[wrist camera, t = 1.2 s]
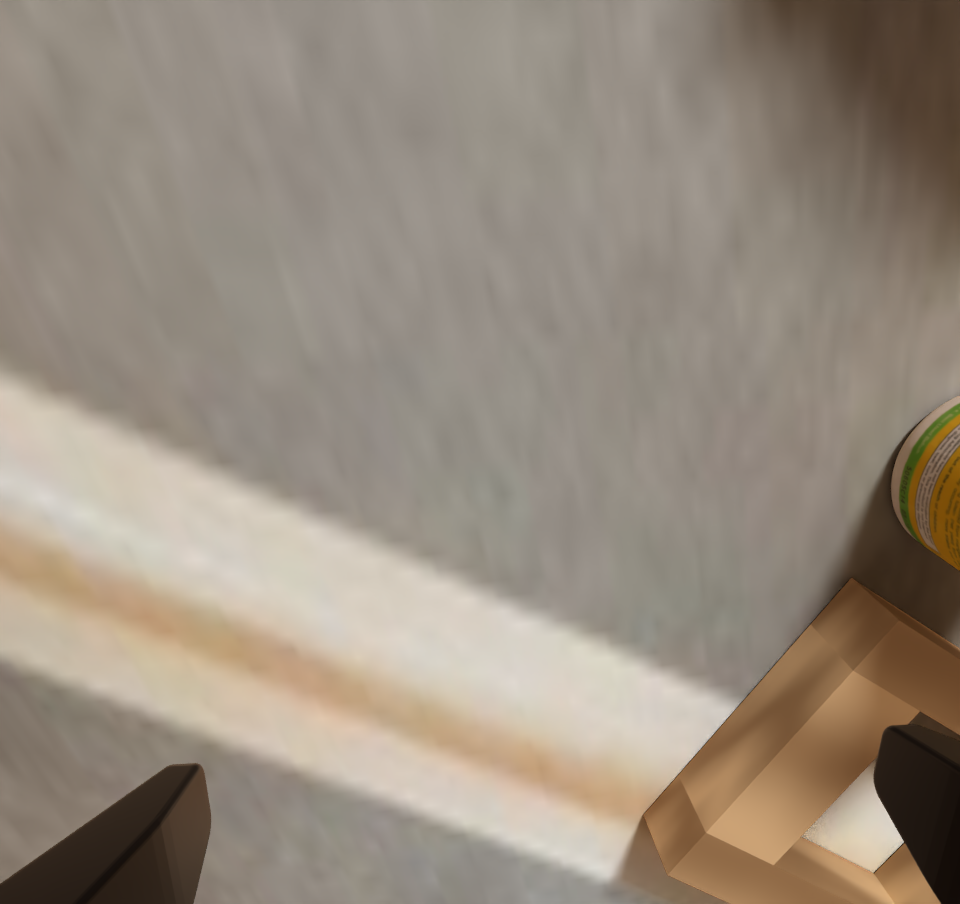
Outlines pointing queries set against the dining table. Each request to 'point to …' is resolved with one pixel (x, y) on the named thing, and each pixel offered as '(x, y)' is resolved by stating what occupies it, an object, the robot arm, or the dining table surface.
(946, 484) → the supplement bottle
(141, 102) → the dining table surface
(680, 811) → the brown open box
